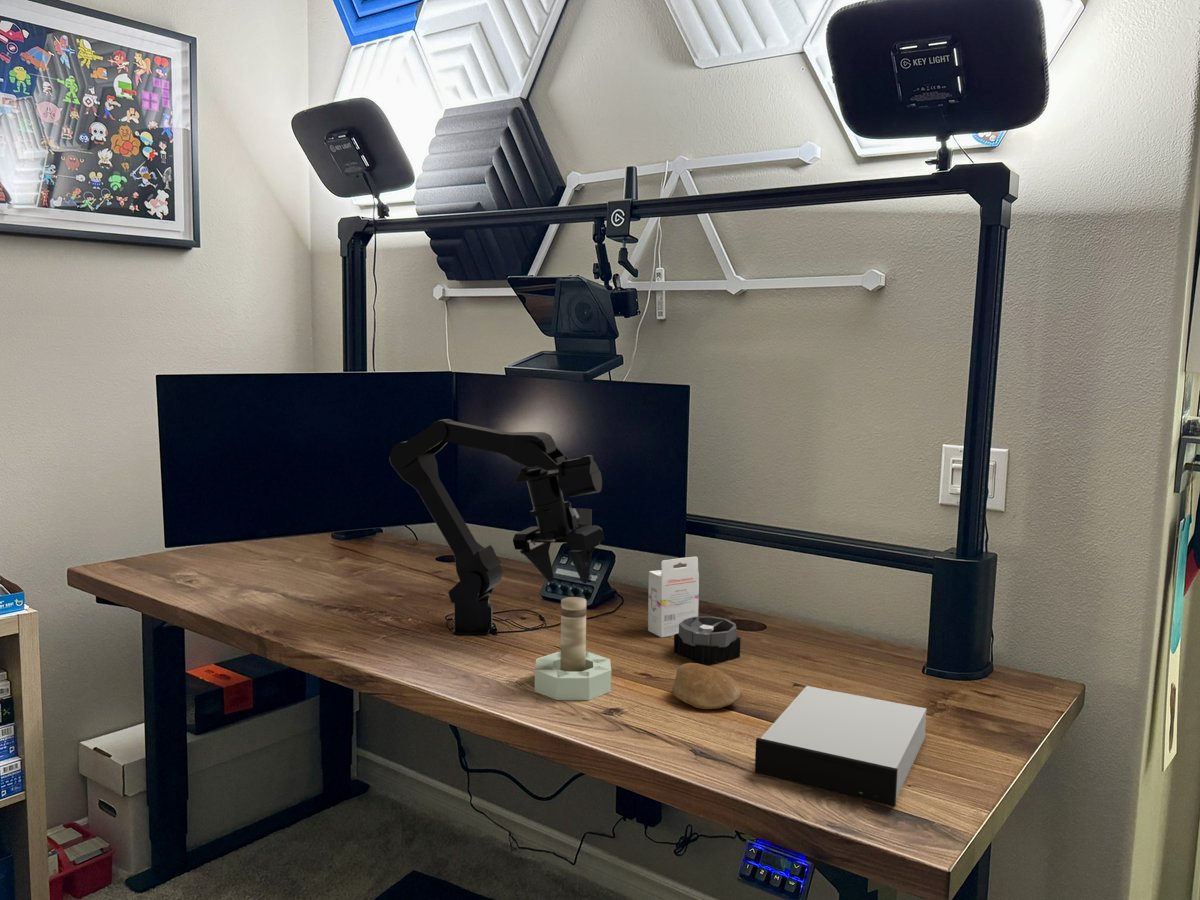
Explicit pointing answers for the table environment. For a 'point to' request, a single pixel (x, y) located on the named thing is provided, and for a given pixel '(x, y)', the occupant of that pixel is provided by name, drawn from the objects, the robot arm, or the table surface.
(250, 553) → the table surface
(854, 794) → the disc drive
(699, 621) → the cpu cooler
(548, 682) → the sage ashtray
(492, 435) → the robot arm
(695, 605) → the ink cartridge box
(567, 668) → the maple peg
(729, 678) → the stone
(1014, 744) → the table surface
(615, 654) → the table surface
